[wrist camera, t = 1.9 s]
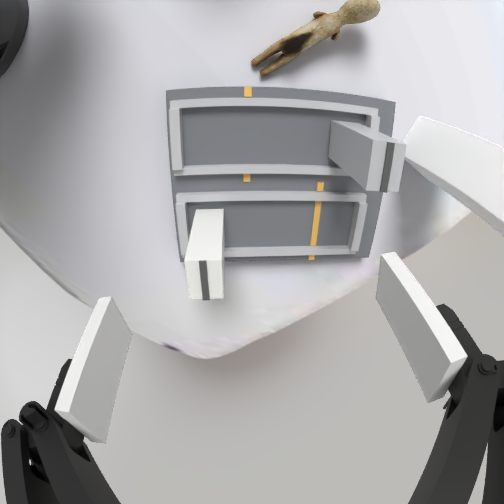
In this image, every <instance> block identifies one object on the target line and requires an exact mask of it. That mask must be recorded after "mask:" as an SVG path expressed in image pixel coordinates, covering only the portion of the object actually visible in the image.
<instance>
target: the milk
mask: <svg viewBox="0 0 504 504" xmlns="http://www.w3.org/2000/svg"><path fill="white" fill-rule="evenodd" d="M402 143H404V144H407V146H406V152H405V158H404V159H405V160H406V161H407V162H408V163H409V164H410V165H411V166H413V167H414V168H415V169H416V170H417V171H418V172H419V173H420V174H421V175H422V176H423V177H425V178H426V179H428V180H429V181H431V182H432V183H434V184H435V185H437V186H438V187H440V188H441V189H443V190H444V191H445V192H447V193H448V194H450V195H451V196H452V197H454V198H455V199H457V200H458V201H459V202H461V203H462V204H463V205H465V206H466V207H467V208H469V209H470V210H471V211H473V212H474V213H475V214H477V215H478V216H479V217H480V218H482V219H483V220H484V221H485V222H487V223H488V224H489V225H490V226H491V227H493V228H494V229H495V230H496V231H498V232H499V233H500V234H501V235H502V236H503V237H504V147H502V146H500V145H497V144H495V143H493V142H491V141H488V140H486V139H484V138H481V137H479V136H476V135H474V134H471V133H469V132H466V131H464V130H461V129H458V128H456V127H453V126H450V125H447V124H444V123H442V122H439V121H436V120H433V119H429V118H426V117H423V116H419V117H418V118H417V120H416V122H415V123H414V125H413V126H412V128H411V129H410V131H409V132H408V134H407V136H406V137H405V139H404V140H403V142H402Z"/></svg>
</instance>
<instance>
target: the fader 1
mask: <svg viewBox="0 0 504 504" xmlns="http://www.w3.org/2000/svg"><path fill="white" fill-rule="evenodd" d="M224 246H225V237H224V209H196V212H195V216H194V220H193V224H192V228H191V233H190V237H189V242H188V246H187V250H186V255H185V260H184V263H185V271H186V278H187V285H188V292H189V299H203V300H210V299H217V298H224Z"/></svg>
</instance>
